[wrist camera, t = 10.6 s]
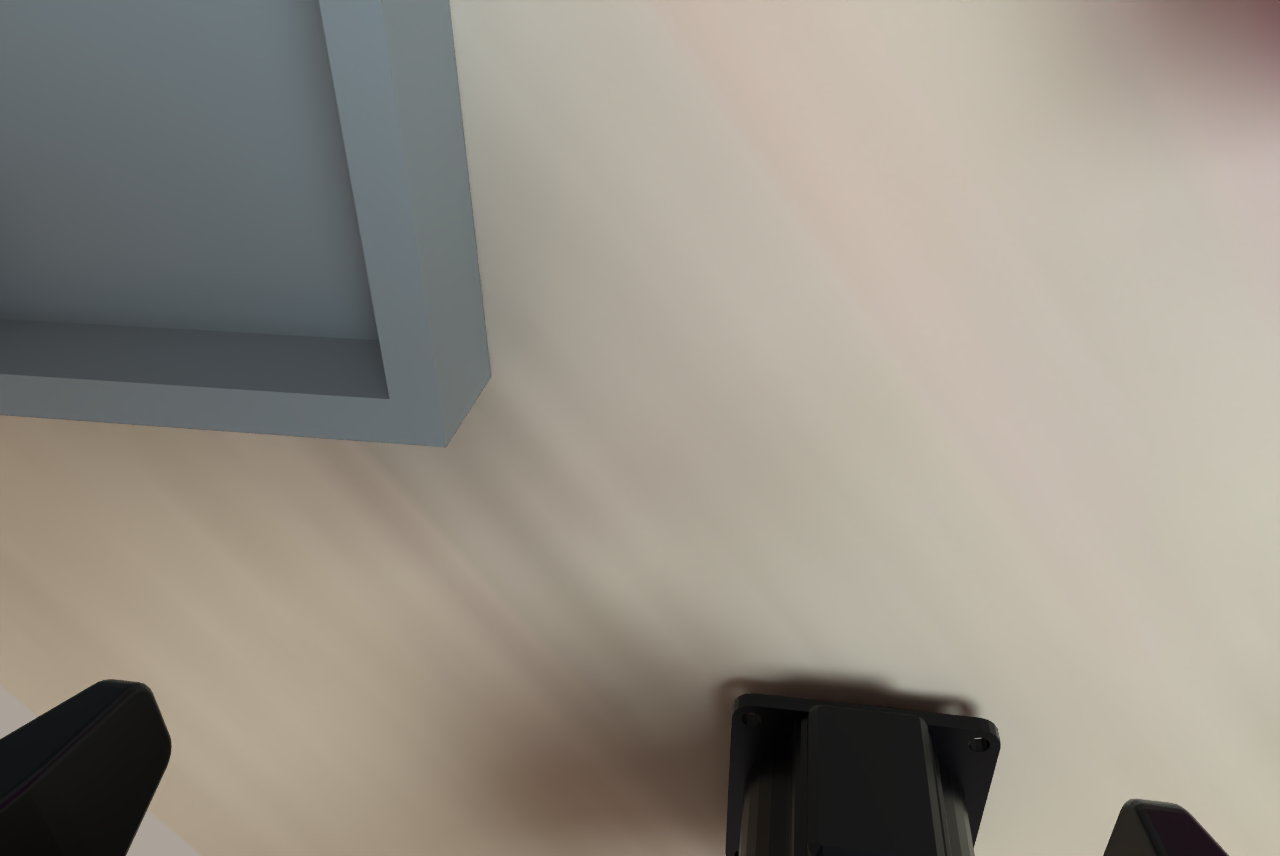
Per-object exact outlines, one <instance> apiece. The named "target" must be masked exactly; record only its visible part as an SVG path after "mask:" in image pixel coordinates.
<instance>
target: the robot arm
mask: <svg viewBox="0 0 1280 856" xmlns="http://www.w3.org/2000/svg"><path fill="white" fill-rule="evenodd" d="M751 712H753V713H756V714H755V715H752V714H748V713H751ZM974 738H981V739H974ZM171 747H172V746H171V738H170V735H169V732H168V730H167V727H166V725H165V722H164V720H163V717H162V715H161V712H160V710H159V707H158V705H157V702H156V700H155V697H154V695H153V693H152V691H151V689H150V688H149V687H148V686H147V685H145V684H143V683H140V682H132V681H124V680H115V679H109V680H103V681H100V682H98V683H96V684H94V685H92V686H90V687H88V688H87V689H85V690H83V691H82V692H80V693H78V694H77V695H75V696H73V697H71V698H70V699H68V700H66V701H65V702H63V703H61V704H60V705H58V706H56V707H54V708H53V709H51V710H49V711H48V712H46V713H44V714H43V715H41V716H39V717H37V718H36V719H34V720H32V721H31V722H29V723H27V724H25V725H24V726H22V727H20V728H19V729H17V730H15V731H14V732H12V733H10V734H9V735H7V736H5V737H4V738H2V739H0V856H126V854H127V852H128V850H129V848H130V846H131V844H132V841H133V839H134V837H135V835H136V833H137V830H138V828H139V826H140V824H141V822H142V820H143V818H144V815H145V813H146V811H147V809H148V807H149V805H150V802H151V800H152V798H153V796H154V794H155V792H156V789H157V787H158V785H159V783H160V781H161V779H162V776H163V774H164V772H165V770H166V768H167V765H168V762H169V759H170V755H171ZM999 751H1000V738H999V733H998V729H997V727H996V726H995V724H994V723H992V722H991V721H989V720H987V719H983V718H977V717H967V716H958V715H949V714H939V713H930V712H921V711H911V710H902V709H893V708H883V707H874V706H865V705H855V704H846V703H837V702H827V701H818V700H809V699H799V698H790V697H781V696H771V695H762V694H744V695H741V696H739V697H738V698H737V699H736V700H735V702H734V704H733V712H732V728H731V749H730V770H729V791H728V811H727V832H726V856H975V855H974V845H975V841H976V837H977V834H978V830H979V826H980V822H981V819H982V815H983V811H984V807H985V804H986V800H987V796H988V792H989V789H990V785H991V781H992V777H993V774H994V770H995V766H996V762H997V759H998V755H999ZM1103 856H1229V855H1228V854H1227V853H1226V852H1225V851H1224V850H1223V849H1222V847H1221V846H1220V845H1219V844H1218V843H1217V842H1216V841H1215V840H1214V839H1213V838H1212V837H1211V835H1210V834H1209V833H1208V832H1207V831H1206V830H1205V829H1204V828H1203V827H1202V826H1201V825H1200V824H1199V822H1198V821H1197V820H1196V819H1195V818H1194V817H1193V816H1192V815H1191V814H1190V813H1189V812H1188V811H1187V810H1185V809H1184V808H1182V807H1181V806H1179V805H1177V804H1173V803H1168V802H1159V801H1151V800H1142V799H1130V800H1129V801H1127V802H1126V803H1125V804H1124V805H1123V807H1122V809H1121V811H1120V813H1119V816H1118V819H1117V821H1116V824H1115V826H1114V829H1113V832H1112V834H1111V837H1110V839H1109V842H1108V845H1107V847H1106V850H1105V852H1104V855H1103Z"/></svg>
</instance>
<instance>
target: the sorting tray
mask: <svg viewBox="0 0 1280 856" xmlns="http://www.w3.org/2000/svg"><path fill="white" fill-rule="evenodd" d="M490 378H491V372H490V363H489V354H488V345H487V336H486V327H485V318H484V310H483V301H482V292H481V283H480V274H479V265H478V256H477V247H476V238H475V229H474V220H473V211H472V202H471V193H470V184H469V176H468V167H467V158H466V149H465V140H464V131H463V122H462V113H461V104H460V95H459V86H458V77H457V68H456V59H455V50H454V42H453V33H452V24H451V15H450V6H449V0H0V415H9V416H22V417H36V418H50V419H64V420H78V421H91V422H105V423H119V424H133V425H147V426H161V427H174V428H188V429H202V430H216V431H230V432H244V433H257V434H271V435H285V436H299V437H313V438H326V439H340V440H354V441H368V442H382V443H396V444H409V445H423V446H437V447H446V446H447V445H448V443H449V442H450V440H451V438H452V437H453V435H454V434H455V432H456V431H457V429H458V428H459V426H460V424H461V423H462V421H463V420H464V418H465V417H466V415H467V413H468V412H469V410H470V409H471V407H472V406H473V404H474V403H475V401H476V399H477V398H478V396H479V395H480V393H481V392H482V390H483V388H484V387H485V385H486V384H487V382H488V381H489V379H490Z"/></svg>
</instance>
